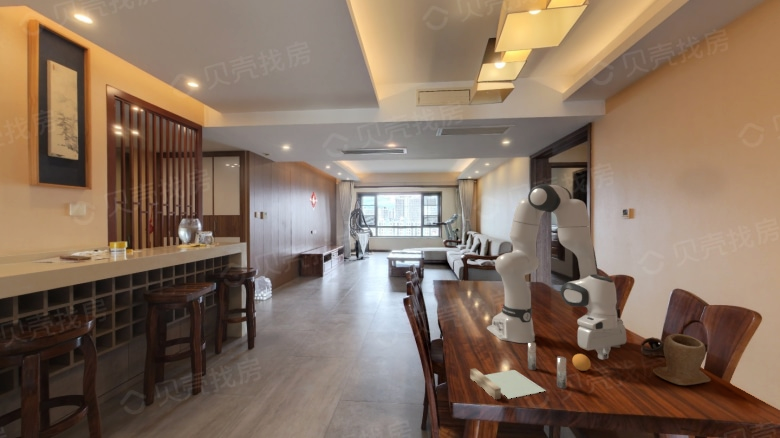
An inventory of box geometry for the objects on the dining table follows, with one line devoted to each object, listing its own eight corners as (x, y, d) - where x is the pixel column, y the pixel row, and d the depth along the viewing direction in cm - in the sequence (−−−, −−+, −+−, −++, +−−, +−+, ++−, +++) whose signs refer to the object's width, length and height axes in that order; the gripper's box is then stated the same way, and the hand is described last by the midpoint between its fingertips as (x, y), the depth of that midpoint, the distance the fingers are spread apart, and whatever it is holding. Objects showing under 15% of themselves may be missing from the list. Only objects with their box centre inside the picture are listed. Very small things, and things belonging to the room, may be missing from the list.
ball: (568, 367, 109) (568, 352, 109) (580, 365, 111) (580, 350, 111) (582, 374, 104) (582, 358, 104) (594, 372, 106) (594, 356, 106)
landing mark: (480, 376, 103) (480, 375, 103) (514, 370, 107) (514, 369, 107) (508, 399, 89) (508, 398, 89) (546, 391, 94) (546, 390, 94)
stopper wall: (470, 378, 101) (470, 369, 102) (475, 377, 102) (475, 368, 102) (495, 399, 89) (495, 389, 89) (500, 398, 90) (500, 388, 90)
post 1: (526, 367, 109) (526, 342, 110) (532, 366, 110) (532, 341, 110) (531, 370, 107) (531, 345, 107) (537, 369, 108) (537, 344, 108)
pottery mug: (681, 366, 112) (671, 347, 112) (652, 371, 116) (641, 353, 116) (667, 346, 123) (657, 328, 123) (640, 351, 127) (631, 335, 127)
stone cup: (685, 393, 93) (685, 344, 94) (647, 374, 105) (646, 330, 105) (725, 389, 96) (725, 341, 96) (683, 370, 107) (683, 328, 108)
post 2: (555, 385, 97) (555, 356, 98) (561, 383, 98) (561, 355, 98) (561, 389, 95) (561, 360, 95) (568, 387, 96) (568, 359, 96)
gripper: (613, 315, 117) (614, 351, 116) (573, 320, 110) (574, 358, 110) (631, 319, 111) (632, 357, 110) (590, 325, 104) (591, 366, 104)
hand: (603, 358), depth 110 cm, fingers closed
